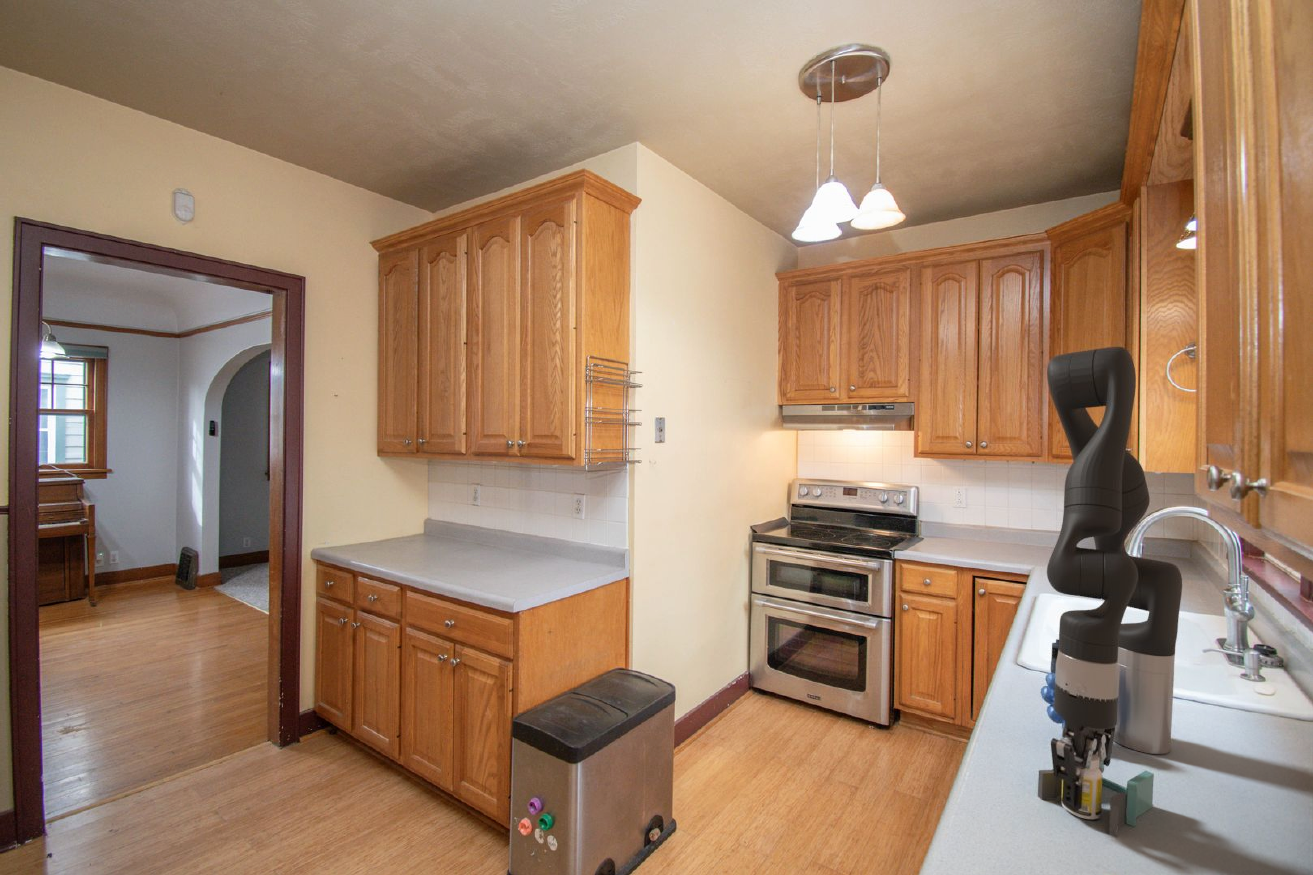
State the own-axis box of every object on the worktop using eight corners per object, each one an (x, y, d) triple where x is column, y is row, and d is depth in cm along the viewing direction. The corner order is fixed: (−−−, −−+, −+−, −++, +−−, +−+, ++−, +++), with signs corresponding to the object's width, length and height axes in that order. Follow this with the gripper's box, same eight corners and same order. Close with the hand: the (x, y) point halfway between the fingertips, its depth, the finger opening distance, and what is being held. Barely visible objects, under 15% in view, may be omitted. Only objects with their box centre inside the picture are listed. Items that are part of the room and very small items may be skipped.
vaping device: (1046, 693, 129) (1049, 637, 129) (1073, 695, 128) (1076, 639, 128) (1053, 698, 126) (1055, 641, 126) (1080, 701, 126) (1082, 643, 125)
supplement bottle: (1084, 799, 91) (1087, 744, 90) (1109, 820, 86) (1111, 762, 86) (1053, 799, 90) (1055, 744, 90) (1076, 820, 86) (1078, 761, 86)
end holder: (1080, 772, 99) (1081, 741, 99) (1160, 808, 89) (1162, 775, 89) (1052, 787, 94) (1053, 755, 94) (1134, 827, 85) (1135, 792, 85)
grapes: (1026, 729, 113) (1029, 665, 112) (1047, 722, 116) (1049, 660, 116) (1095, 761, 102) (1098, 690, 102) (1116, 752, 105) (1119, 684, 105)
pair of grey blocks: (1054, 787, 94) (1055, 761, 94) (1133, 826, 85) (1134, 798, 85) (1036, 796, 91) (1037, 770, 91) (1115, 837, 83) (1117, 808, 82)
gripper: (1081, 667, 95) (1077, 774, 95) (1032, 685, 87) (1027, 801, 88) (1139, 685, 88) (1134, 800, 89) (1090, 706, 81) (1085, 832, 81)
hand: (1081, 800), depth 88 cm, fingers closed on supplement bottle, 4 cm apart
